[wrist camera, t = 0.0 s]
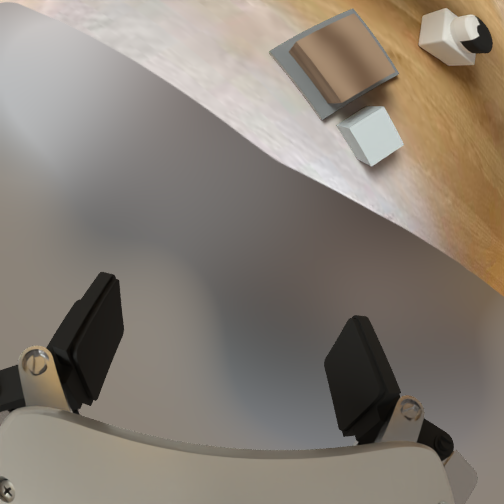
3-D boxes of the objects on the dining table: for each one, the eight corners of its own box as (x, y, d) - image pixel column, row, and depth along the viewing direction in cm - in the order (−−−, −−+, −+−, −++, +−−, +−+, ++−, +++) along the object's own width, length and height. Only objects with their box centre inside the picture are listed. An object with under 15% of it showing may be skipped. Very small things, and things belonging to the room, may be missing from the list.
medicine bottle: (452, 36, 25) (497, 30, 14) (448, 66, 28) (496, 66, 18) (421, 15, 24) (465, 1, 13) (417, 46, 27) (464, 36, 17)
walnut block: (339, 25, 26) (353, 13, 21) (375, 75, 30) (395, 72, 24) (288, 51, 29) (296, 41, 23) (327, 103, 32) (342, 102, 27)
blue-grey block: (367, 105, 33) (383, 106, 28) (386, 139, 36) (403, 144, 31) (335, 125, 35) (349, 128, 30) (356, 158, 37) (371, 166, 33)
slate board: (350, 10, 25) (353, 8, 24) (395, 74, 30) (399, 73, 29) (268, 52, 30) (269, 51, 29) (320, 119, 34) (322, 119, 33)
